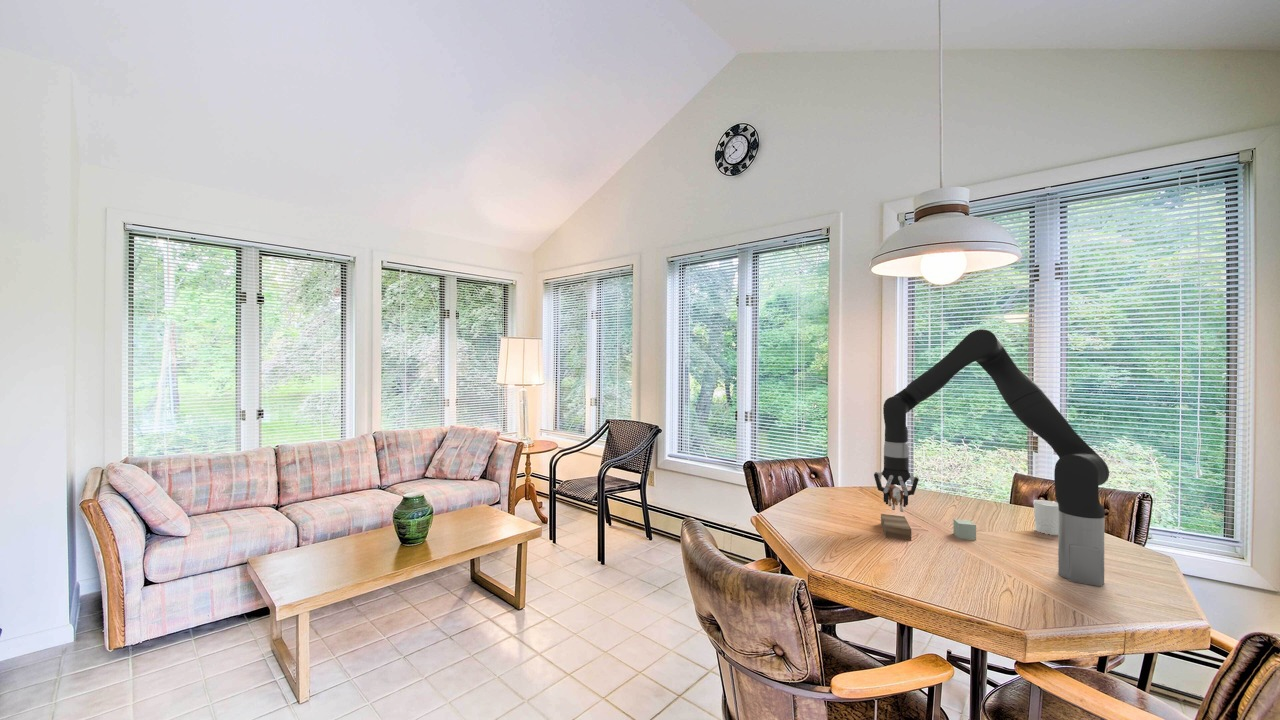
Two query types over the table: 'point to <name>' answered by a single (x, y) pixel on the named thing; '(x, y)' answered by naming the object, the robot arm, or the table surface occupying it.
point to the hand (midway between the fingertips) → (895, 504)
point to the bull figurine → (895, 496)
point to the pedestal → (895, 527)
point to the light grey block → (1046, 516)
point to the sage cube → (964, 529)
